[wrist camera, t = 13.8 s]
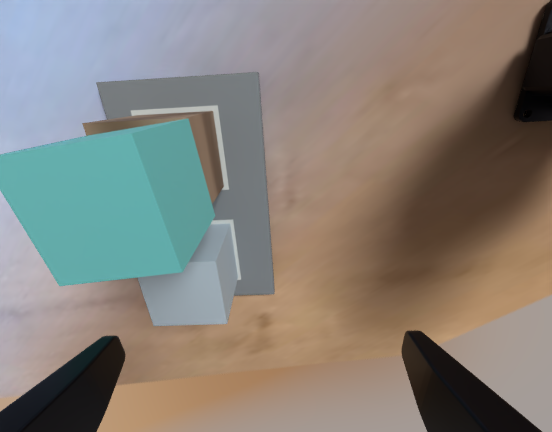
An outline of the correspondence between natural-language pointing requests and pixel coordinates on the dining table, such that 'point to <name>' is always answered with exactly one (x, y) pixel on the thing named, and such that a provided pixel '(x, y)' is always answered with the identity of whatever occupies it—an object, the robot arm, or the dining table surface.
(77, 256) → the teal block
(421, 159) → the dining table surface
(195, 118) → the walnut block
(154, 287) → the grey block
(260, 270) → the mat
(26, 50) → the dining table surface
